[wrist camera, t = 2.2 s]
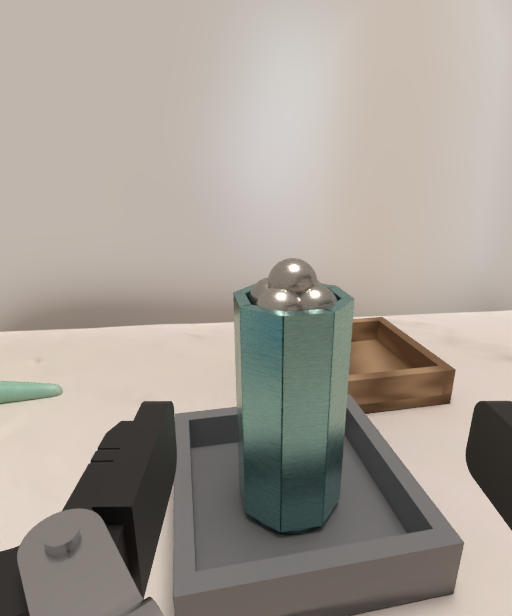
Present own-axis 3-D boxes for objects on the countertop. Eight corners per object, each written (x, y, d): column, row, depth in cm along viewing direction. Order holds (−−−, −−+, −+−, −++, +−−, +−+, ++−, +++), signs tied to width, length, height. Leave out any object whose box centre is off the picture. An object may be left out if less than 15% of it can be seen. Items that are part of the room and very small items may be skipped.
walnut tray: (379, 343, 51) (382, 317, 49) (449, 403, 38) (455, 369, 36) (271, 353, 48) (271, 325, 47) (305, 420, 35) (307, 385, 34)
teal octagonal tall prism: (317, 458, 29) (327, 246, 24) (350, 527, 24) (373, 269, 18) (235, 470, 28) (228, 250, 23) (249, 544, 22) (244, 276, 17)
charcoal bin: (347, 430, 34) (349, 394, 33) (453, 593, 21) (464, 542, 20) (178, 452, 31) (175, 413, 30) (179, 651, 18) (173, 597, 17)
